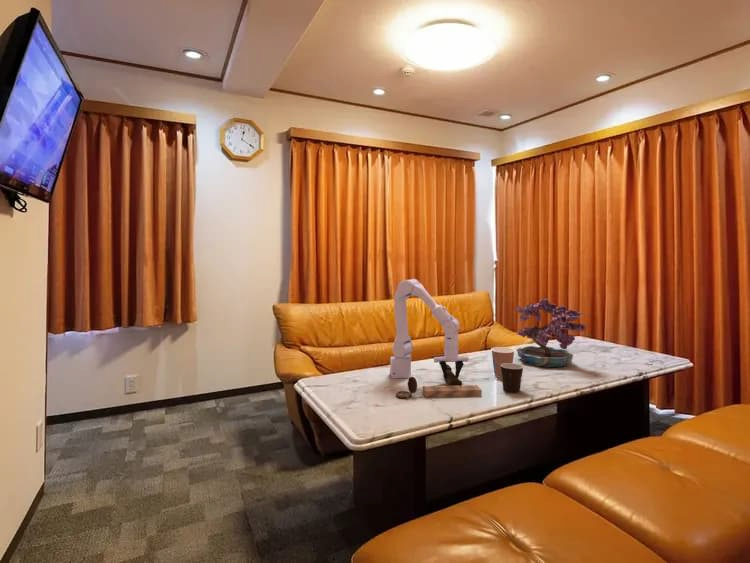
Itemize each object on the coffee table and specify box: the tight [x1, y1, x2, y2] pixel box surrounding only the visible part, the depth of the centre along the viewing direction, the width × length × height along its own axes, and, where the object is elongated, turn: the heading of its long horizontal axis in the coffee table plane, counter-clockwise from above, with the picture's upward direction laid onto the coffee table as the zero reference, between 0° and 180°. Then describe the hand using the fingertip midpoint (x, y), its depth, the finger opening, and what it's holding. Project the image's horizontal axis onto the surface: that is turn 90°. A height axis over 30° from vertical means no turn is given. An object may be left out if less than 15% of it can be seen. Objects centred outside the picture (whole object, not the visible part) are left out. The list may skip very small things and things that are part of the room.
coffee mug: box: [501, 362, 524, 394], centre depth 165 cm, size 12×9×10 cm
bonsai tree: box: [515, 298, 586, 368], centre depth 205 cm, size 35×27×32 cm
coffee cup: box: [490, 346, 516, 379], centre depth 186 cm, size 10×10×12 cm
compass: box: [395, 376, 418, 400], centre depth 159 cm, size 8×8×7 cm
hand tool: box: [442, 363, 463, 386], centre depth 176 cm, size 23×5×6 cm, turn 0°
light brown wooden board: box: [422, 384, 483, 399], centre depth 162 cm, size 22×6×3 cm, turn 93°
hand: (451, 378), depth 176 cm, fingers open, 4 cm apart
